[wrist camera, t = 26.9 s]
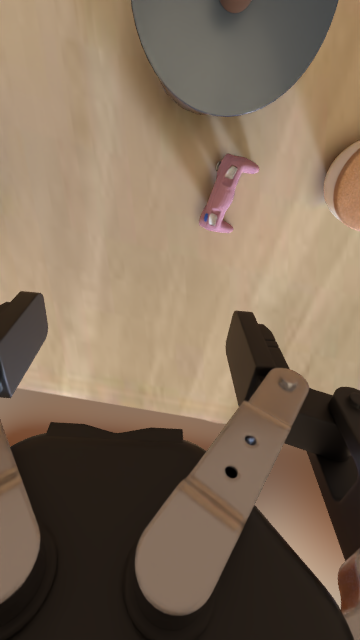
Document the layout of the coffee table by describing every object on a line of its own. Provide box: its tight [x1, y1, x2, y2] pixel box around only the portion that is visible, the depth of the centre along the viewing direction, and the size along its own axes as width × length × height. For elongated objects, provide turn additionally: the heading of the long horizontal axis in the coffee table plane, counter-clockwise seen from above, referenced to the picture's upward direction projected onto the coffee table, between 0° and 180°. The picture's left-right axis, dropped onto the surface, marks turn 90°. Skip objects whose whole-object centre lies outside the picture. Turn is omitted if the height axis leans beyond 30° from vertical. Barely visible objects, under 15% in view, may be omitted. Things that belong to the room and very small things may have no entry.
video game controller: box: [199, 154, 259, 233], centre depth 40 cm, size 10×5×7 cm, turn 161°
